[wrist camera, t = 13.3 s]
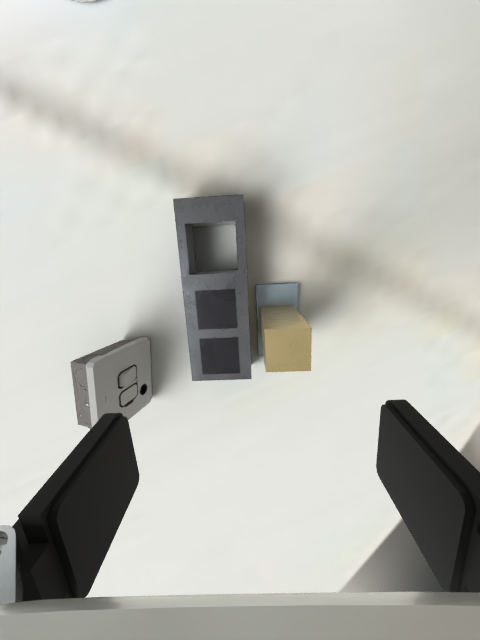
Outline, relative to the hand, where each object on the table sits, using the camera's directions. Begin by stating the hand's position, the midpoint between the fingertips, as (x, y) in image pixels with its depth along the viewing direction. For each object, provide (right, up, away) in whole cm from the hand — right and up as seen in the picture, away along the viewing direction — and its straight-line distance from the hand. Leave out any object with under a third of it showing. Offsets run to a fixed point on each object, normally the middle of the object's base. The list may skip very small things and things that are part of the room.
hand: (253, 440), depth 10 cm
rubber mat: (+4, +4, +24) cm, 25 cm away
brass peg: (+4, +4, +24) cm, 24 cm away
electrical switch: (-15, -2, +27) cm, 31 cm away
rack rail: (-3, +8, +23) cm, 25 cm away
